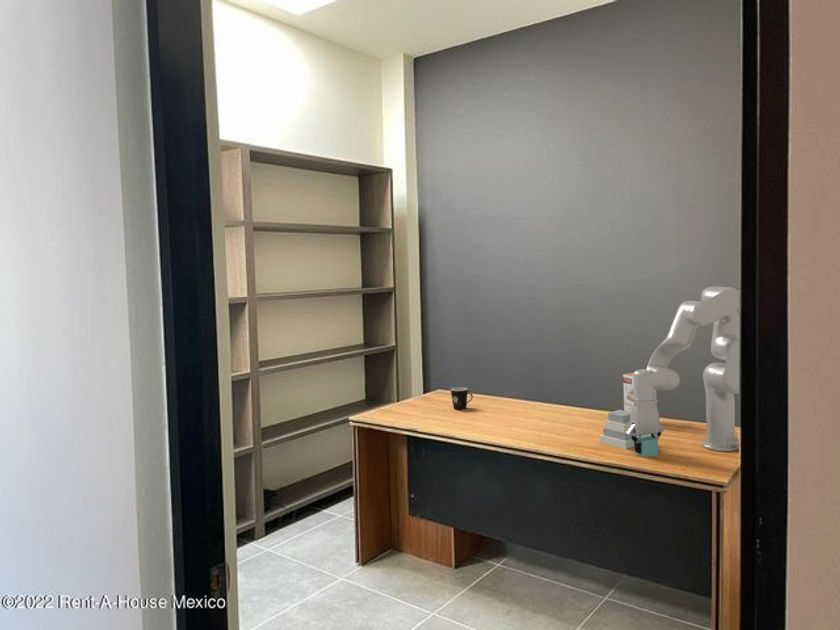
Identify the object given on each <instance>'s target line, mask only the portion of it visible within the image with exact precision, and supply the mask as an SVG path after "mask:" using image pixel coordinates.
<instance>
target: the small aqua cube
mask: <svg viewBox="0 0 840 630" xmlns="http://www.w3.org/2000/svg"><path fill="white" fill-rule="evenodd" d="M637 437H638V436H637ZM640 443H641V454H639V453H637V452H635V450H634V449H633V453H634V454H636V455H637V456H639V457H643V458H651V457H656V456H659V440H658V439H656V438H654V437H651V435H650V434H648V435H644V436H641V439H640Z"/></svg>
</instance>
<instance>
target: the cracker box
mask: <svg viewBox="0 0 840 630" xmlns="http://www.w3.org/2000/svg"><path fill="white" fill-rule="evenodd" d="M633 373H634V372H630V373H625V374H623V375H622V378H623V380H622V381H623V409H624V410H623V411H628V412H631V409H632V407H634V385H633ZM655 393H656V399H658V397H657V389H656V390H655ZM657 403H658V402H656V406H657V405H658V404H657ZM657 407H658V406H657Z"/></svg>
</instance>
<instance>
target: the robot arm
mask: <svg viewBox="0 0 840 630" xmlns="http://www.w3.org/2000/svg"><path fill="white" fill-rule="evenodd" d="M739 291H740V290H739V289H737V288H734V287H730V286H729V287H727V286H714V285H713V286H708V287H706V288H704V289H703V291H701V295H700V296H701V301H697V300H687V301H686V300H685V301H683V302H681V303H680V304H679V306H678V308H677V311H676V313H675V316H674V318H673V320H672V323H671V325H670V328H669V331H668V333H667V335H666V337H665V339H664V340H663V341H662V342H661V343H660V344H659V345H658V347H656V348H655V350H654V351H653V353H652V354H651V356H650V359H649V361H648V364H647V367H646V369H645V368H641V369H636V370H635V371H634V372H632V373H633V385H634V407H632V409H631V415H630V429H629V430H628V431H627V433H626V434H627V435H628V436H629V437H630V438H631V439H632V440H633V441H634V447H633V451H634V450H635V452H637V453H639V454H641V443H640V439H641V436H642V435H649V436H651V437H654V438H656V439H658V441H659V439H660V437H661V435H662V433H663V432H664V431H665V427H663V426H662V424H660V423H661V421H660V420H661V419H660V412H659V409H658V406H656V402H657V403H658V402H659V400H658V398H657V399H656V394H657V392H656V393H655V390H656V391H657V390H664V391H669V390H673V389H676V388H678V386H679V384H680V381H681V379H680V376H679V373H677V372H676V371H674V370H673V369H671V368H668V365H669V363H670V361H671V360H672V359H673V358H674V357H675V356H676V355H677V354H678V353H680V352H683V351H684V350H687V349H688V348H690V346H691V345H692V342H693V340H694V338H695V334H696V332H697V330H698V327H699V326H701V327H702V326H703V327H704V326H709V325H710V324H713V329H712V334H711V335H712V337H711V342H710V344H711V345H710V352H711V355H713V356H714V357H715V358H717V359H719V360H722V361H725V363H723V362H712V363H711V362H710V364H708V365H707V366H705V368H704V370H703V373H702V379H703V385H704V390H705V391H704V392H705V413H706V414H705V416H706V418H705V422H706V428H705V429H706V431H705V432H706V439H704V440H702V442H701V446H702V447H704V448H705V449H708V450H711V451H717V452H734V451H738V450H739V449H740V448H739V440H740V439H739V436H738V435H737V434H736V428H735V427H736V422H735V421H736V419H735V418H736V414H735V411H736V410H735V407H736V406H735V405H736V403H735V396H734V395H736V394H740V393H739V337H740V336H739V334H740V325H739V319H740V315H739V312H738V310H739V308H740V307H739ZM632 433H634V436H633V435H632ZM637 436H638V437H637Z"/></svg>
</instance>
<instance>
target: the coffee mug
mask: <svg viewBox="0 0 840 630" xmlns="http://www.w3.org/2000/svg"><path fill="white" fill-rule="evenodd" d="M450 394H451V400H452V405H453V406H452V407H453V409H455V411H463V410H462V409H465V410H467V404H468V403H470V402H471V401H472V400H473V398H474V397H473V394H472V393H471V392H468V388H467V387H462V386H461V387H453V388H451V389H450ZM468 394H469V395H470V397H471V398H470V399H469V400H468Z"/></svg>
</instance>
